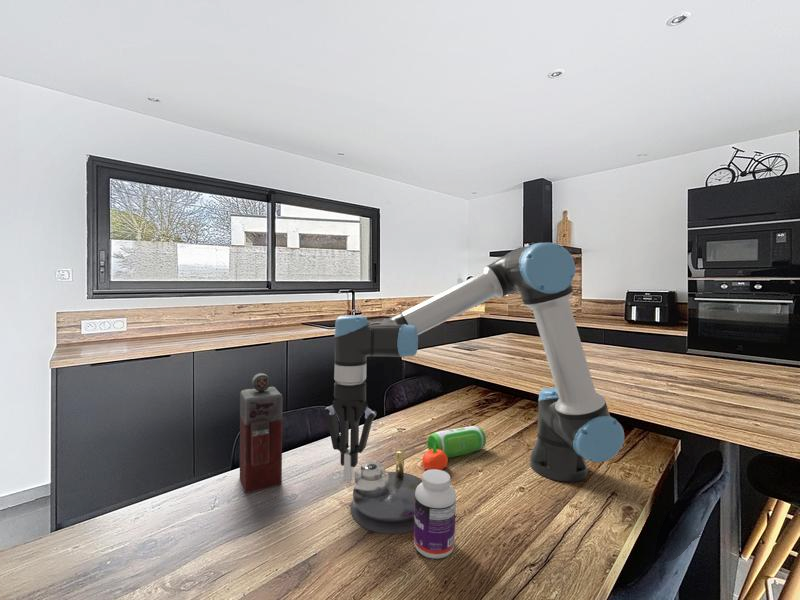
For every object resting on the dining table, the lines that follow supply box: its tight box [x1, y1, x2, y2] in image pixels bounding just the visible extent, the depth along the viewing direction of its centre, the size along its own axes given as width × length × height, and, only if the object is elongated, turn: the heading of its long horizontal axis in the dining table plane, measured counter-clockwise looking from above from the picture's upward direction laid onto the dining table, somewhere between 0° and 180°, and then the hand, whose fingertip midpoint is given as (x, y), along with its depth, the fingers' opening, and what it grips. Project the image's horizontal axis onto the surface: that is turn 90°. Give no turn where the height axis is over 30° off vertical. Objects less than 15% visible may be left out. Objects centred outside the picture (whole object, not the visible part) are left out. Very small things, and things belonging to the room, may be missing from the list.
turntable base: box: [350, 500, 414, 535], centre depth 88 cm, size 19×19×2 cm
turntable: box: [352, 449, 422, 524], centre depth 87 cm, size 18×18×8 cm
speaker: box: [426, 425, 487, 458], centre depth 117 cm, size 18×7×8 cm, turn 116°
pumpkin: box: [421, 446, 449, 471], centre depth 106 cm, size 7×8×6 cm
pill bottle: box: [413, 469, 457, 560], centre depth 75 cm, size 8×8×14 cm
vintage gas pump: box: [239, 372, 284, 494], centre depth 97 cm, size 9×11×28 cm
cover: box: [353, 461, 389, 497], centre depth 89 cm, size 8×8×5 cm
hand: (348, 478), depth 90 cm, fingers closed
